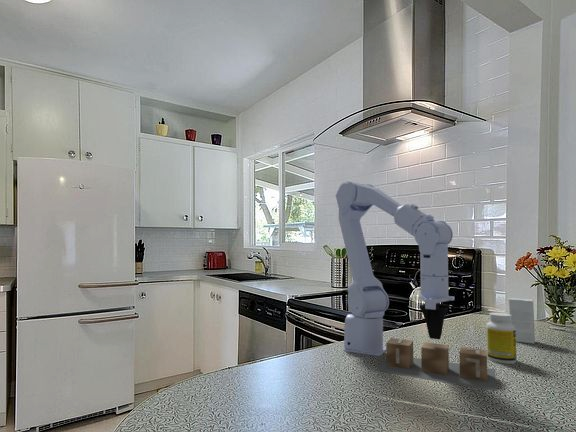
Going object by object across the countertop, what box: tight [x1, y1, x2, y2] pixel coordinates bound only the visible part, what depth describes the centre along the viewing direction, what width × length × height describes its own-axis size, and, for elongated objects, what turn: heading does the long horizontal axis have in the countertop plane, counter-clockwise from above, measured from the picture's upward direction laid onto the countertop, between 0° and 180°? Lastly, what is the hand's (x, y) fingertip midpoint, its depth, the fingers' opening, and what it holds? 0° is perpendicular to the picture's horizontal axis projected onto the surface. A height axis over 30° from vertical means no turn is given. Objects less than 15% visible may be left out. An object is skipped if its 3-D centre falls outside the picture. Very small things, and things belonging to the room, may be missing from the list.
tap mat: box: [373, 356, 497, 392], centre depth 83 cm, size 23×14×1 cm, turn 62°
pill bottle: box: [485, 312, 517, 365], centre depth 91 cm, size 6×6×11 cm
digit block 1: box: [385, 337, 414, 369], centre depth 86 cm, size 5×5×5 cm
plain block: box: [420, 341, 450, 375], centre depth 83 cm, size 5×5×5 cm
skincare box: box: [508, 297, 536, 345], centre depth 111 cm, size 6×4×12 cm
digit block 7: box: [458, 346, 488, 382], centre depth 80 cm, size 5×5×5 cm
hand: (435, 338), depth 83 cm, fingers closed
